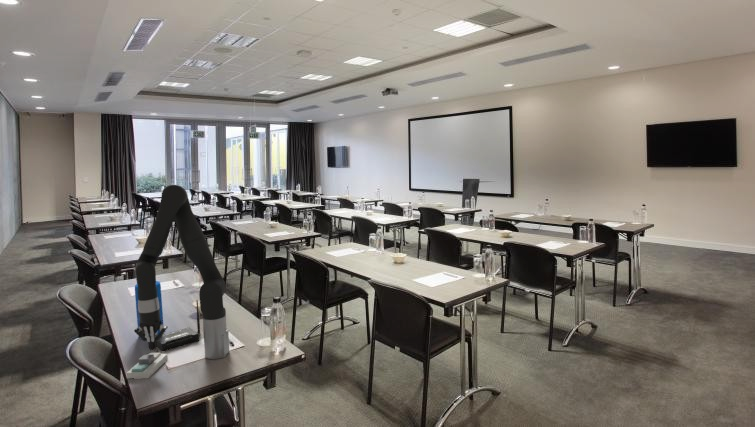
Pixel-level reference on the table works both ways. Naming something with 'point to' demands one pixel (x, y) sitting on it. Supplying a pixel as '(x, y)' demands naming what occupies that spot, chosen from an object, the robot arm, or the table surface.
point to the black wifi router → (179, 337)
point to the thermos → (159, 303)
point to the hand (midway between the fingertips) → (153, 349)
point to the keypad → (148, 368)
